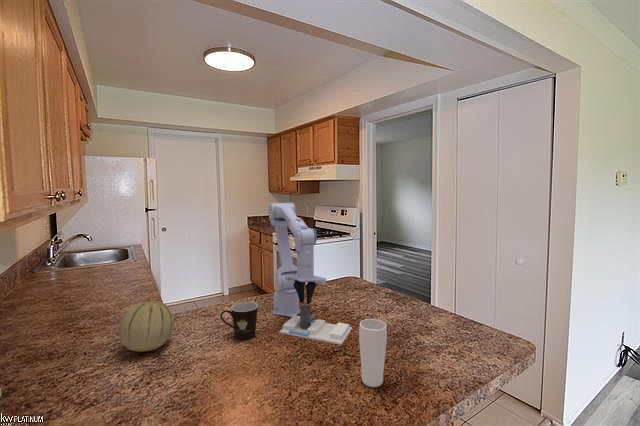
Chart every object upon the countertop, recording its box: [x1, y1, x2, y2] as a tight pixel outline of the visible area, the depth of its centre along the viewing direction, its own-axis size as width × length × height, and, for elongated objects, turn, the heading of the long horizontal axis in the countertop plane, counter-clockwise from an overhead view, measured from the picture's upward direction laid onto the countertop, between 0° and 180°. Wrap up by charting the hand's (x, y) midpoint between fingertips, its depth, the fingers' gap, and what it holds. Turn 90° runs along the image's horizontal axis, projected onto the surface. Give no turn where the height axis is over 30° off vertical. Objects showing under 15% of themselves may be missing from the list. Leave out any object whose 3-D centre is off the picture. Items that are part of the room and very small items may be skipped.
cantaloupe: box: [118, 297, 175, 353], centre depth 95 cm, size 15×15×15 cm
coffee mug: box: [219, 301, 259, 342], centre depth 104 cm, size 12×9×10 cm
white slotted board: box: [279, 315, 353, 345], centre depth 107 cm, size 22×12×2 cm, turn 68°
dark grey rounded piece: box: [299, 303, 316, 330], centre depth 111 cm, size 4×10×8 cm, turn 158°
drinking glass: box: [358, 318, 388, 388], centre depth 78 cm, size 7×7×15 cm
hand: (305, 302), depth 108 cm, fingers closed
